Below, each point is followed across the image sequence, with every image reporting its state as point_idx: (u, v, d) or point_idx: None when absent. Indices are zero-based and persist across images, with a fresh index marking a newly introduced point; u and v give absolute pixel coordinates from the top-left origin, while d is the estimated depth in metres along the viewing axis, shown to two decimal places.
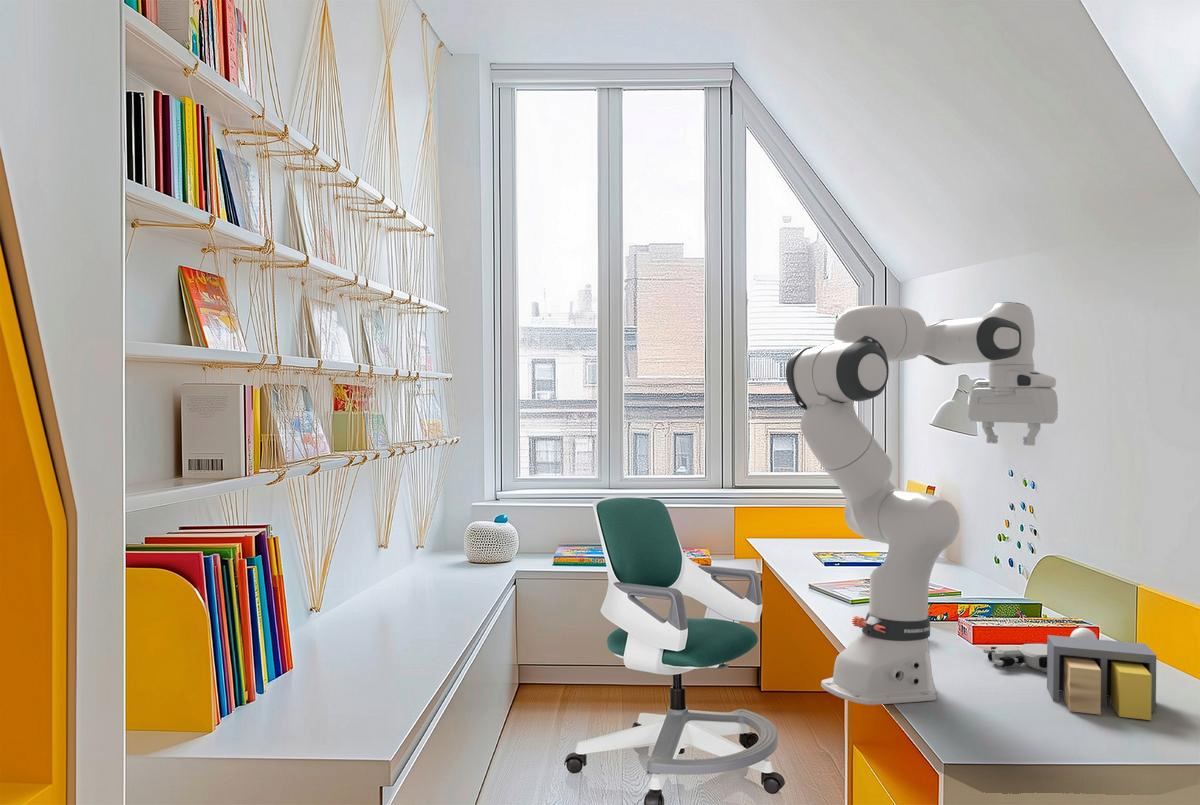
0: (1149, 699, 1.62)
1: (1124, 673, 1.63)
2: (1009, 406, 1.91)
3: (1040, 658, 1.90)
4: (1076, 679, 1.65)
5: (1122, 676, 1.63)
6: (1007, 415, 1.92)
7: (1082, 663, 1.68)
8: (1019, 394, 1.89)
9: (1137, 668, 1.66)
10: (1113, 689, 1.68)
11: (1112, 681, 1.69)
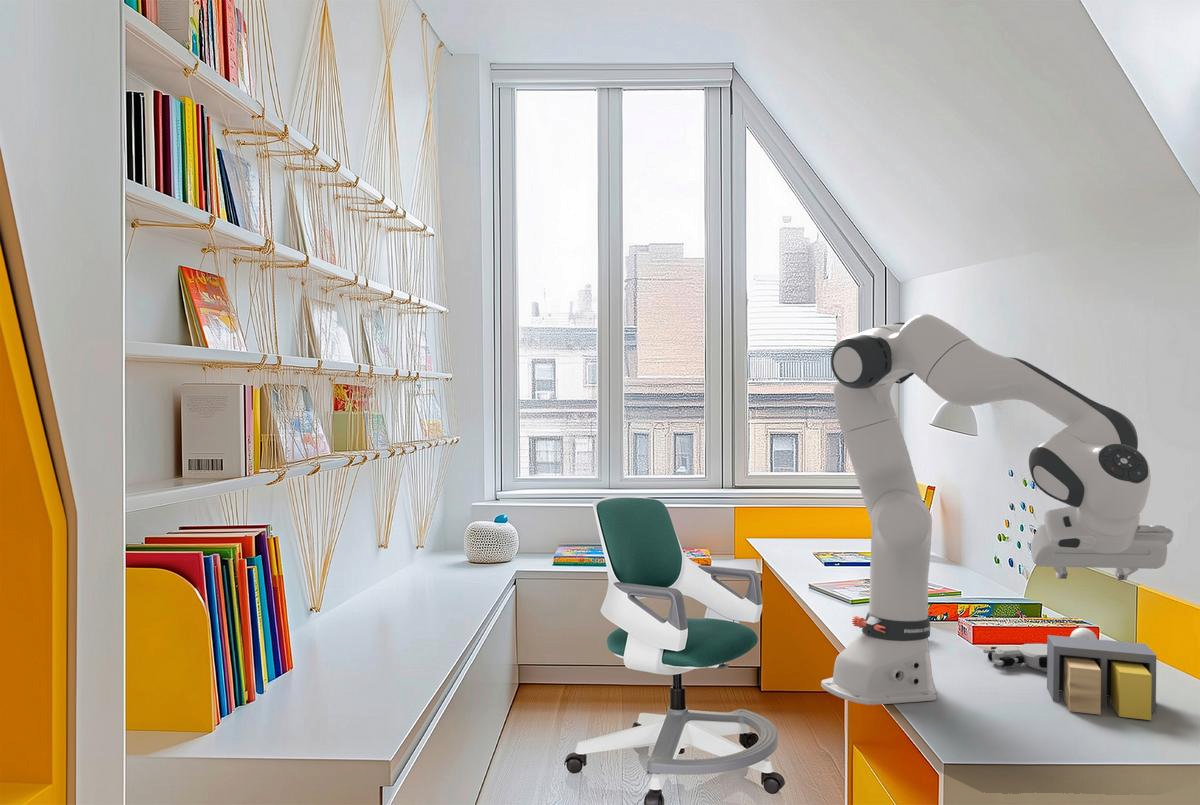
0: (1149, 699, 1.62)
1: (1124, 673, 1.63)
2: None
3: (1040, 658, 1.90)
4: (1076, 679, 1.65)
5: (1122, 676, 1.63)
6: None
7: (1082, 663, 1.68)
8: None
9: (1137, 668, 1.66)
10: (1113, 689, 1.68)
11: (1112, 681, 1.69)
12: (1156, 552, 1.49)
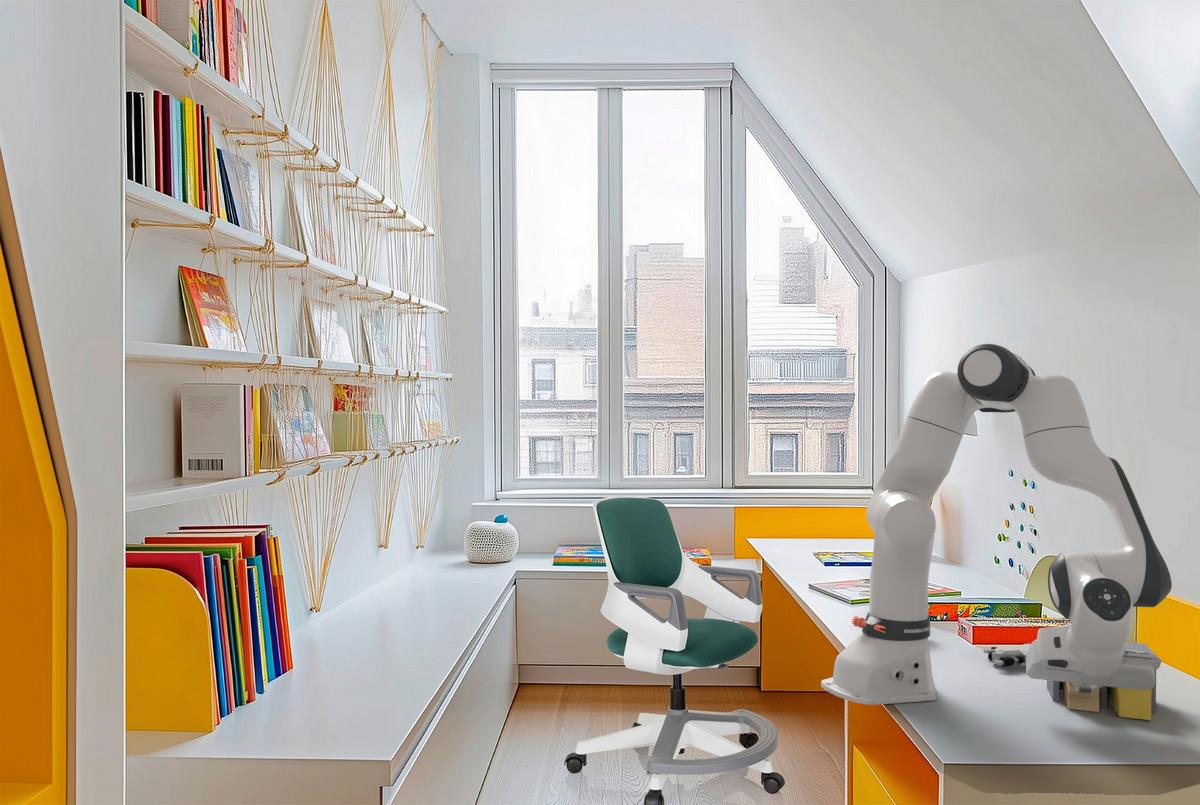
0: (1149, 699, 1.62)
1: None
2: None
3: None
4: None
5: None
6: None
7: None
8: None
9: None
10: (1113, 689, 1.68)
11: None
12: (1144, 677, 1.56)
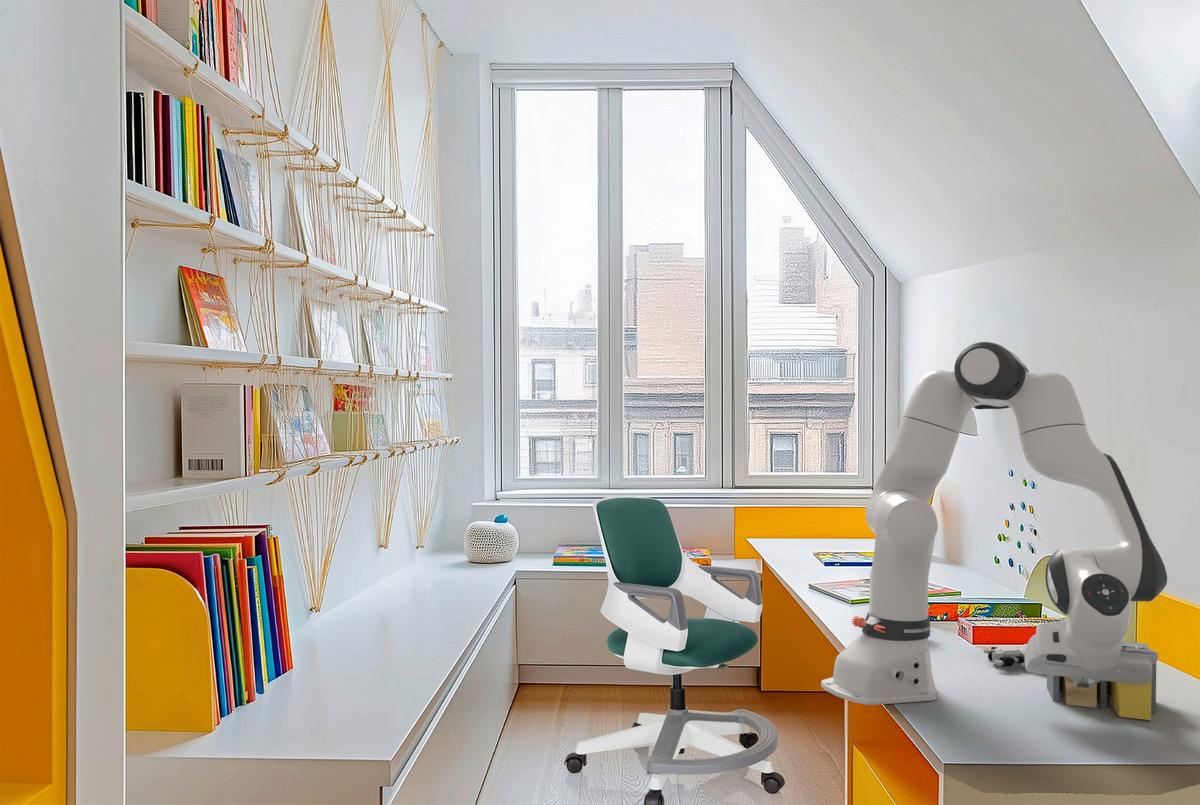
0: (1149, 699, 1.62)
1: None
2: None
3: None
4: None
5: None
6: None
7: None
8: None
9: None
10: (1113, 689, 1.68)
11: None
12: (1142, 671, 1.58)
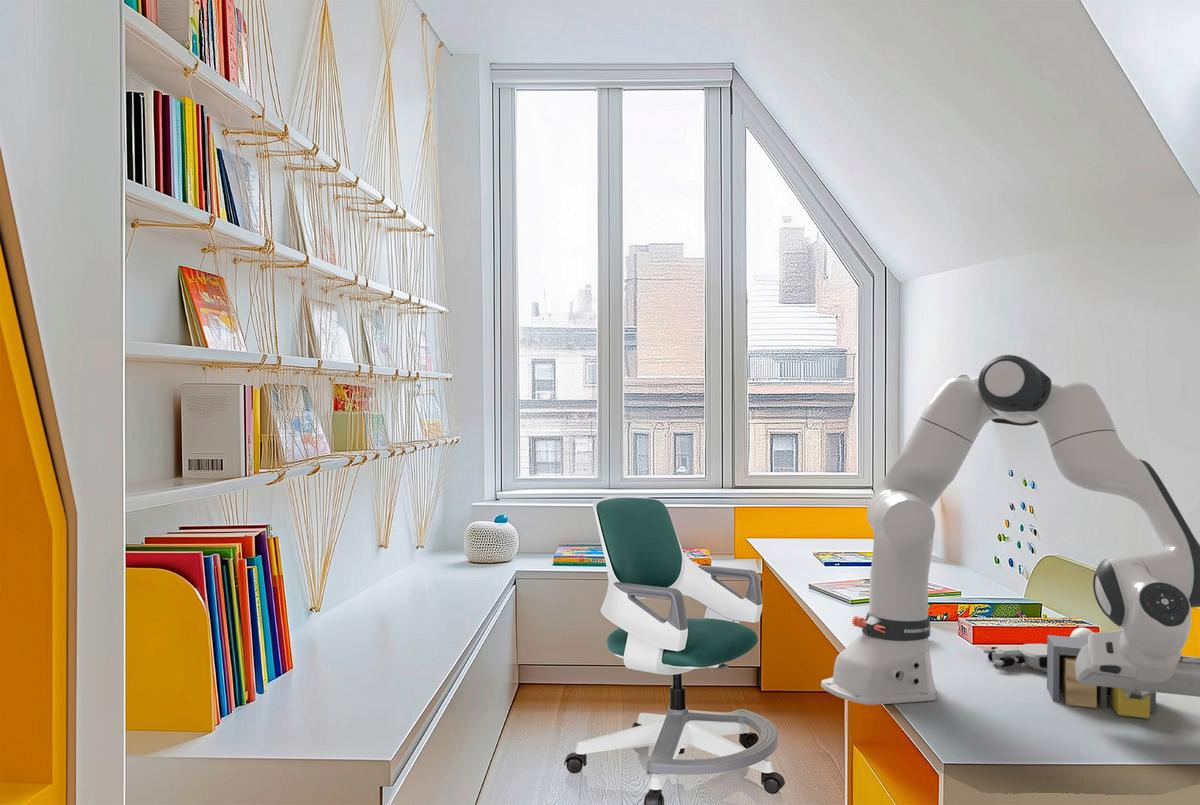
0: (1148, 697, 1.62)
1: None
2: None
3: (1040, 658, 1.90)
4: (1073, 673, 1.69)
5: None
6: None
7: None
8: None
9: None
10: None
11: None
12: (1199, 683, 1.53)
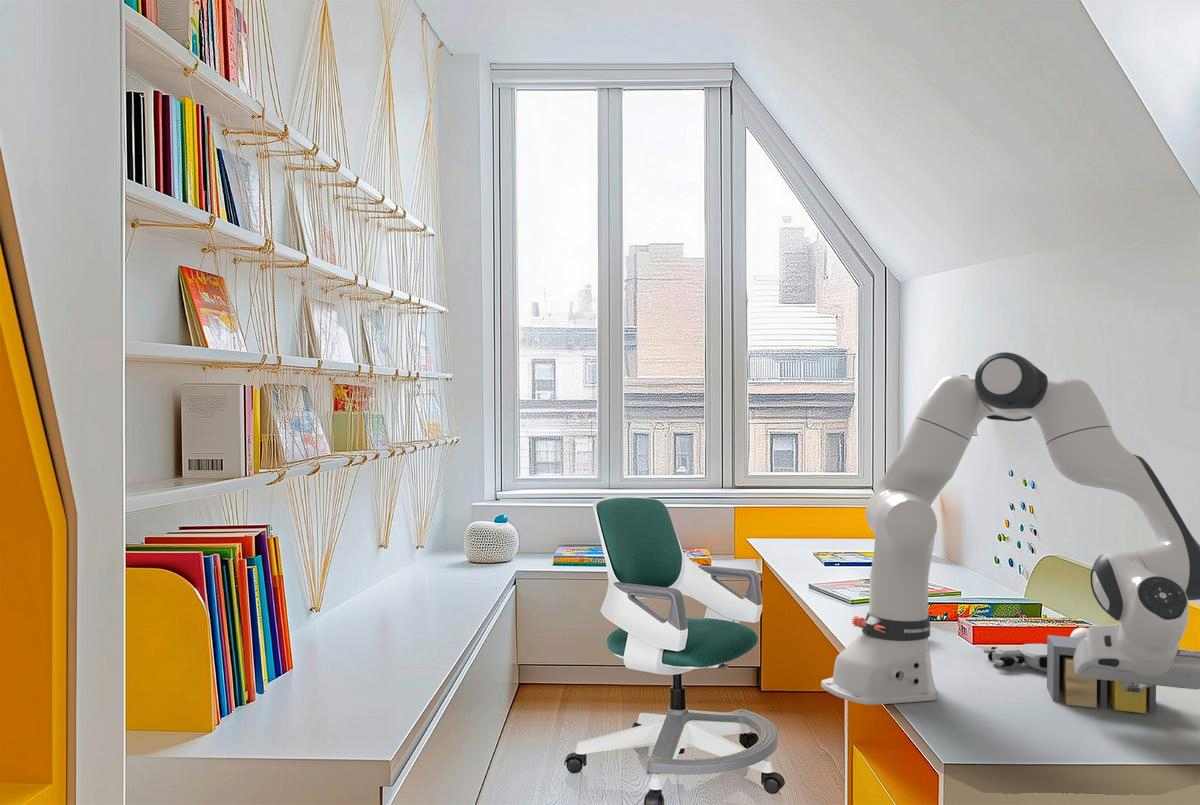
0: (1144, 693, 1.65)
1: None
2: None
3: (1040, 658, 1.90)
4: (1073, 673, 1.69)
5: None
6: None
7: None
8: None
9: None
10: (1109, 683, 1.72)
11: None
12: (1196, 676, 1.55)
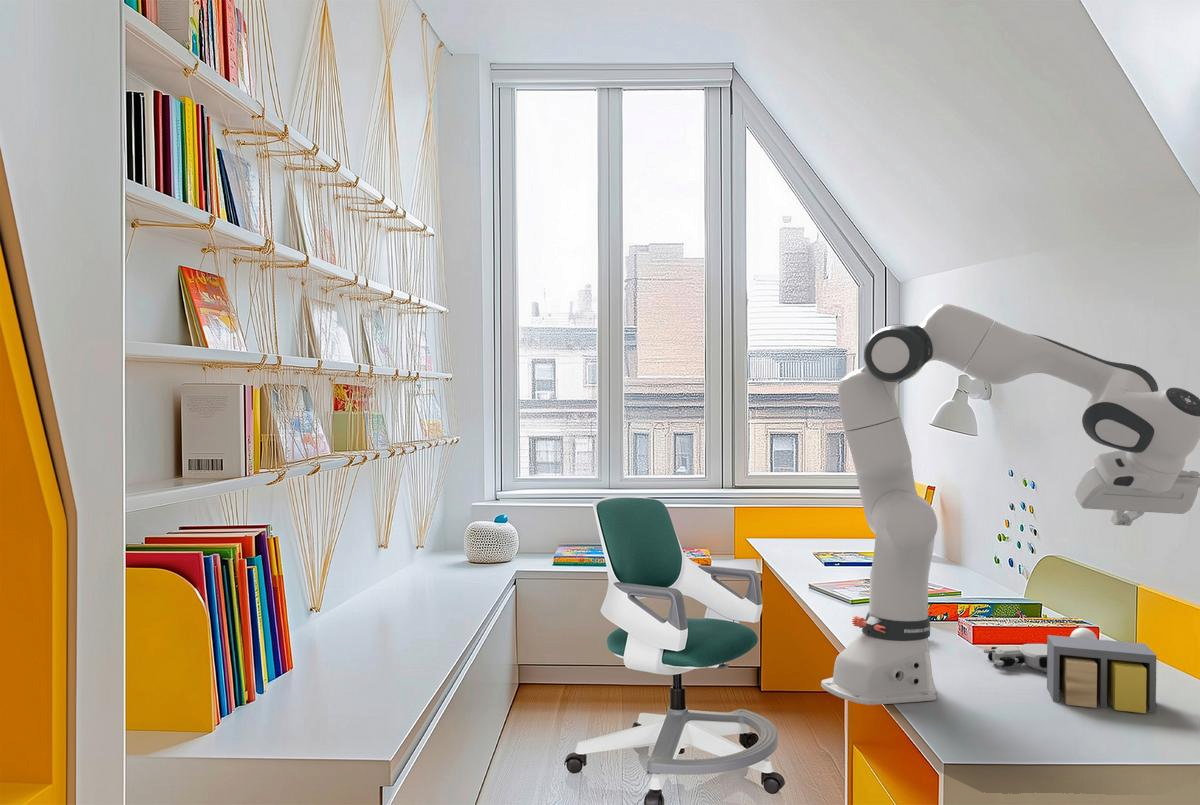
0: (1144, 693, 1.65)
1: (1120, 667, 1.67)
2: None
3: (1040, 658, 1.90)
4: (1073, 673, 1.69)
5: (1117, 670, 1.67)
6: None
7: (1079, 658, 1.72)
8: None
9: (1132, 662, 1.69)
10: (1109, 683, 1.72)
11: (1108, 675, 1.73)
12: (1188, 496, 1.65)
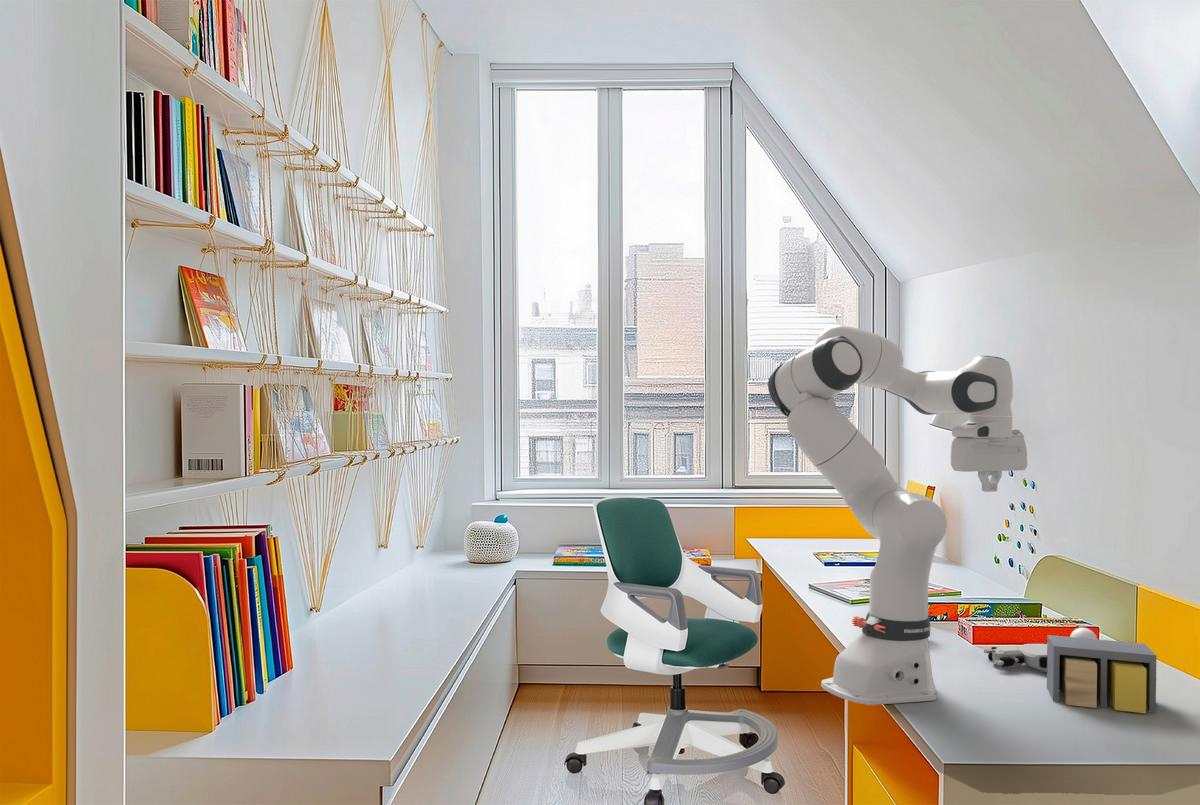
0: (1144, 693, 1.65)
1: (1120, 667, 1.67)
2: None
3: (1040, 658, 1.90)
4: (1073, 673, 1.69)
5: (1117, 670, 1.67)
6: None
7: (1079, 658, 1.72)
8: None
9: (1132, 662, 1.69)
10: (1109, 683, 1.72)
11: (1108, 675, 1.73)
12: (1022, 449, 2.04)
